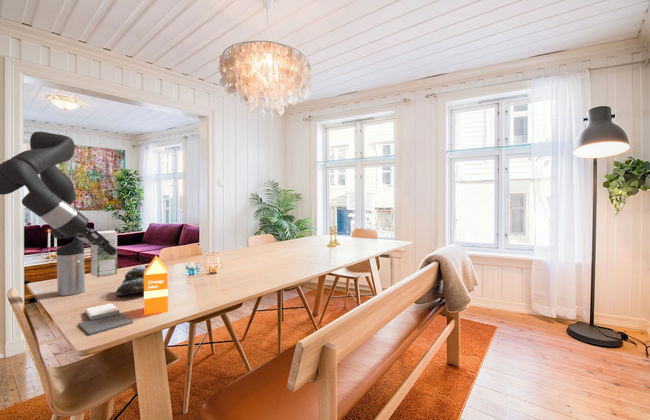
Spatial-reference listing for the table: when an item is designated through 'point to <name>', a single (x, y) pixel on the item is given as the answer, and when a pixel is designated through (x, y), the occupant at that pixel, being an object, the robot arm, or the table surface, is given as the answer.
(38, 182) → the robot arm
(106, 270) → the syrup box
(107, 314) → the external hard drive
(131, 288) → the lucky cat figurine
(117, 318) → the charcoal mat
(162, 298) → the orange juice
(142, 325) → the table surface
